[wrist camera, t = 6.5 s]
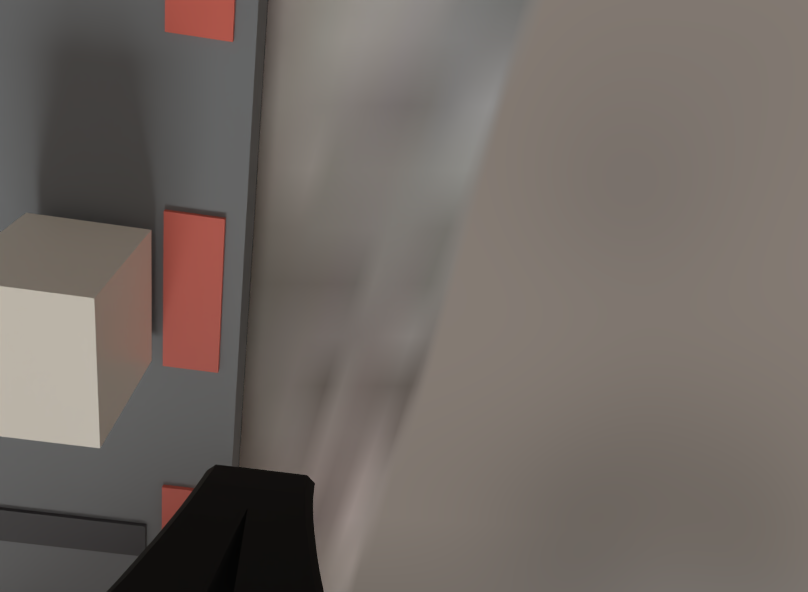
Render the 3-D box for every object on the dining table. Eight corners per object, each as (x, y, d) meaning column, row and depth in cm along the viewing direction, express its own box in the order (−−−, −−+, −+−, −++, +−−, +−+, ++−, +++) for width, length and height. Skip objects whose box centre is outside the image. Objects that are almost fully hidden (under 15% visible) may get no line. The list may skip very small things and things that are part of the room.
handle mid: (36, 345, 16) (-39, 431, 13) (26, 212, 15) (-60, 278, 12) (151, 360, 16) (100, 448, 14) (151, 229, 15) (94, 297, 12)
